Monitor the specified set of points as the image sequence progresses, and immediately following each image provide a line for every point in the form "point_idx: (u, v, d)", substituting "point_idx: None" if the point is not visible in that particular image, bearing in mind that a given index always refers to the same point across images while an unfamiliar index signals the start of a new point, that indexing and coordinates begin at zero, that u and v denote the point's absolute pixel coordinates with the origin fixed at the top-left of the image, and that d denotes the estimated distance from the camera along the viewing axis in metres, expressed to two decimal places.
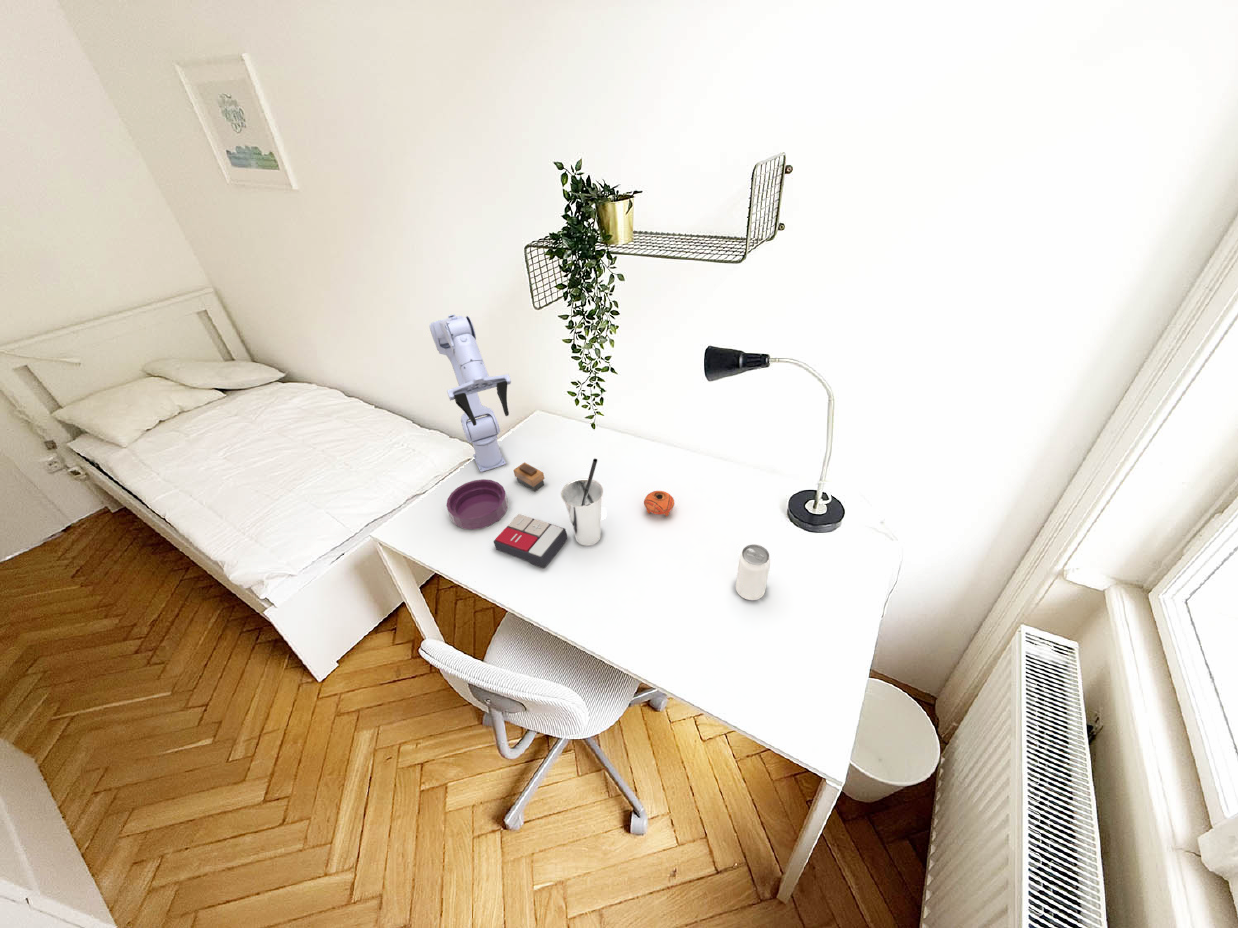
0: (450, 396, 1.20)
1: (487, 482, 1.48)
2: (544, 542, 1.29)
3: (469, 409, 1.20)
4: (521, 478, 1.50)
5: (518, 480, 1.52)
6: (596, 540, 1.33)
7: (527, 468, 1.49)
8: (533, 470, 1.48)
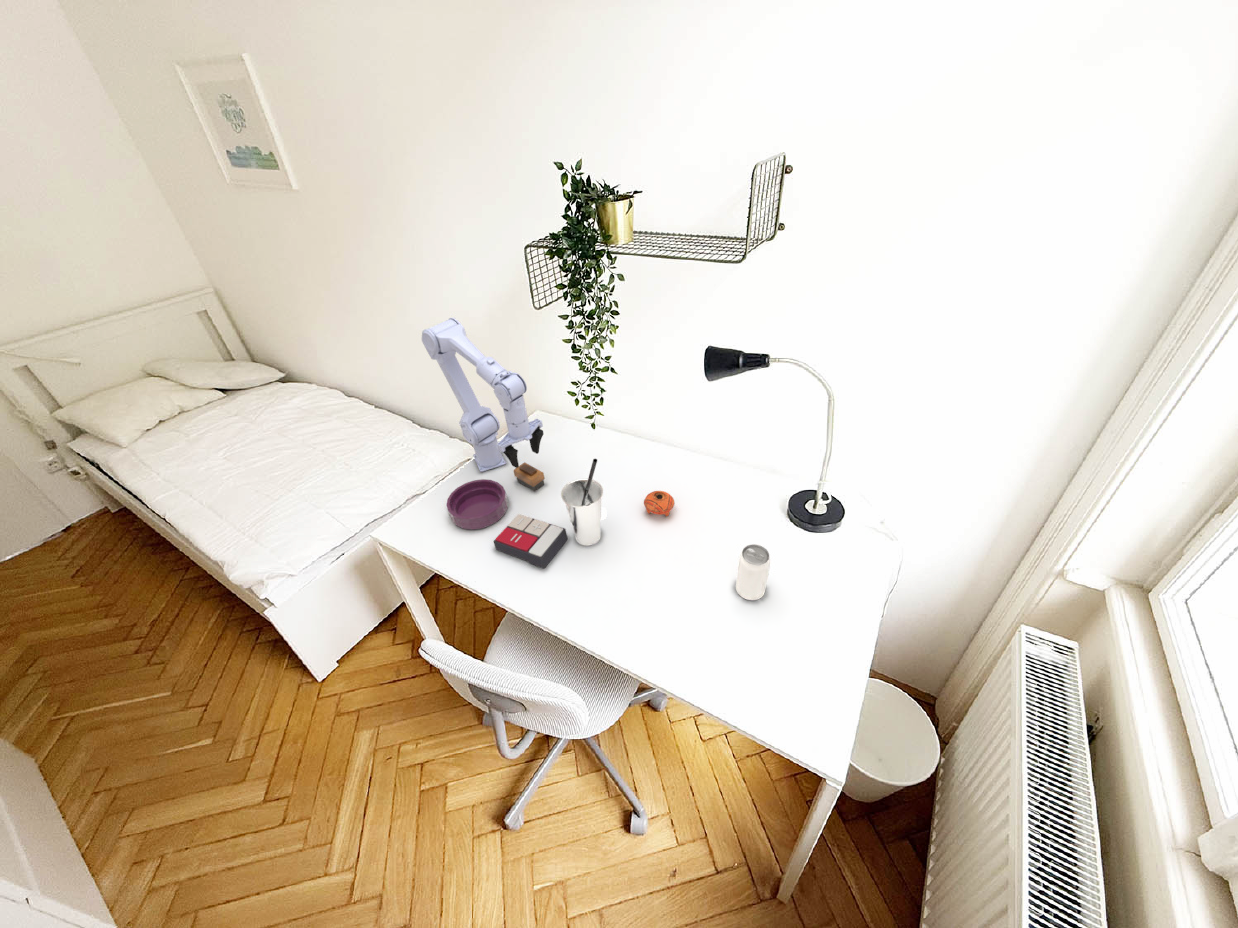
0: (503, 451, 1.38)
1: (487, 482, 1.48)
2: (544, 542, 1.29)
3: (516, 459, 1.42)
4: (521, 478, 1.50)
5: (518, 480, 1.52)
6: (596, 540, 1.33)
7: (527, 468, 1.49)
8: (533, 470, 1.48)
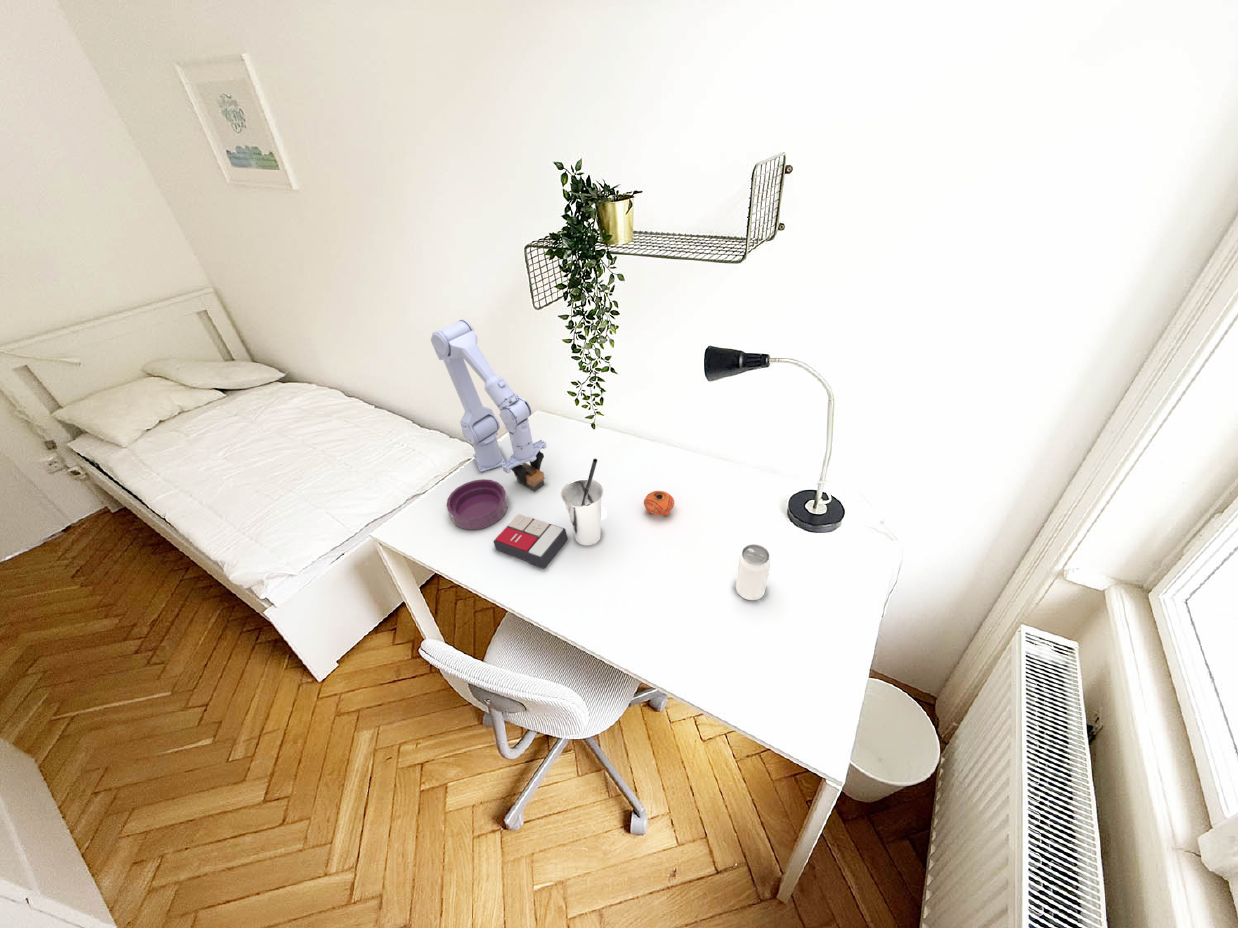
0: (508, 472, 1.42)
1: (487, 482, 1.48)
2: (544, 542, 1.29)
3: (524, 477, 1.47)
4: None
5: (518, 480, 1.53)
6: (596, 540, 1.33)
7: (527, 468, 1.49)
8: (533, 470, 1.48)
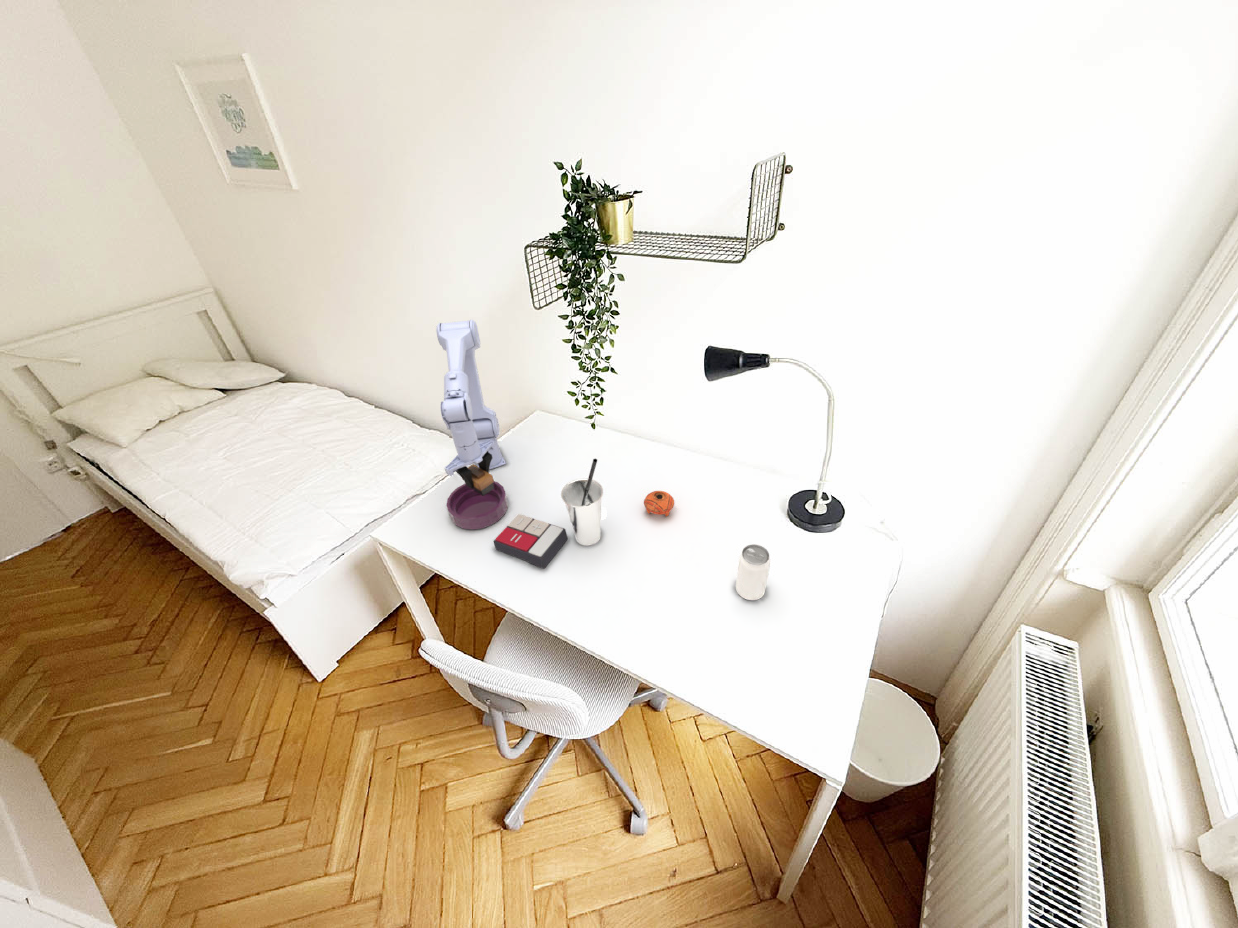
0: (451, 475, 1.31)
1: None
2: (544, 542, 1.29)
3: (471, 480, 1.36)
4: None
5: None
6: (596, 540, 1.33)
7: (474, 471, 1.37)
8: (481, 472, 1.37)
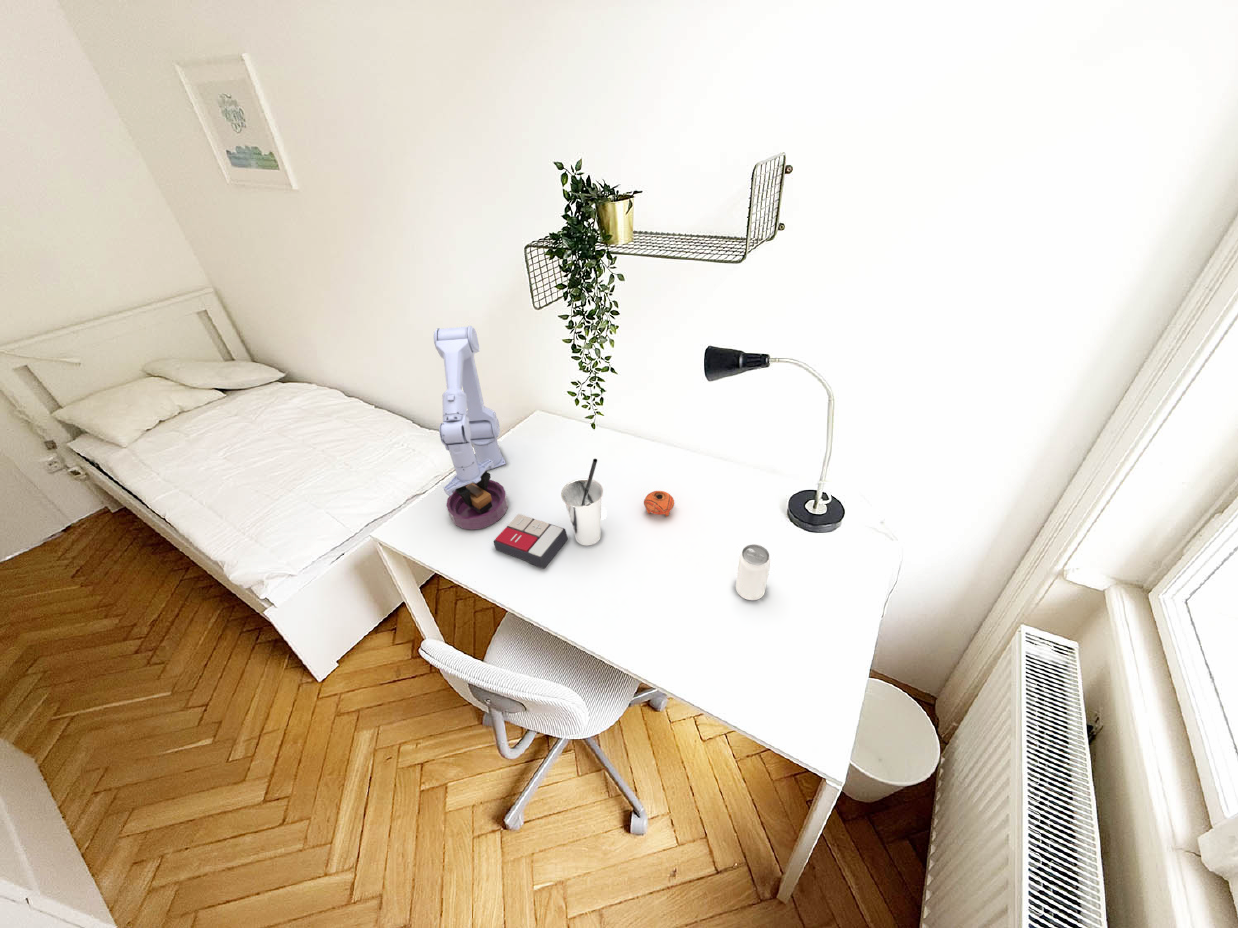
0: (450, 494, 1.33)
1: None
2: (544, 542, 1.29)
3: (469, 499, 1.38)
4: None
5: None
6: (596, 540, 1.33)
7: (473, 490, 1.40)
8: (479, 491, 1.39)
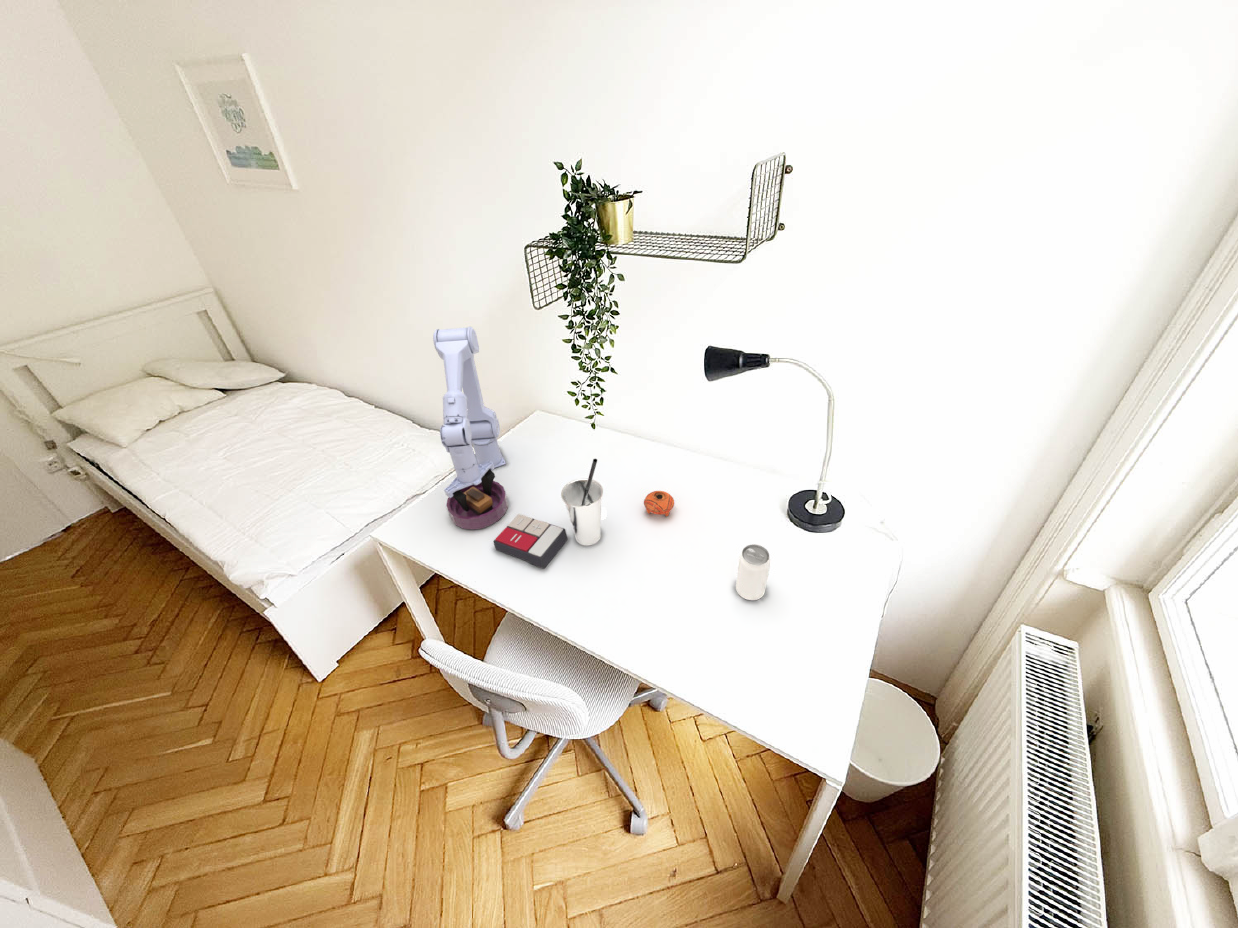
0: (451, 496, 1.34)
1: None
2: (544, 542, 1.29)
3: (466, 503, 1.38)
4: (468, 504, 1.42)
5: None
6: (596, 540, 1.33)
7: (474, 494, 1.41)
8: (480, 495, 1.40)
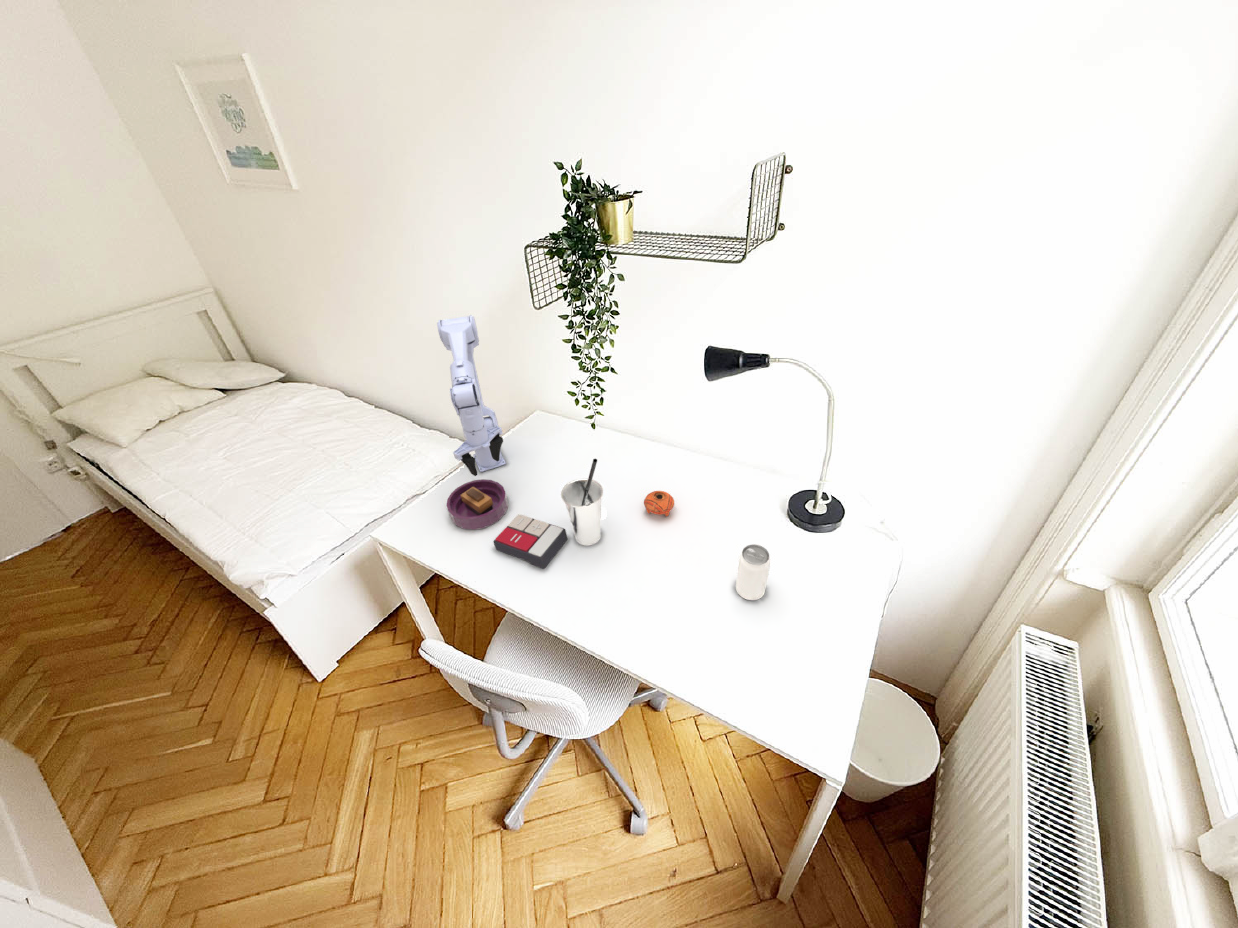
0: (459, 459, 1.35)
1: (487, 482, 1.48)
2: (544, 542, 1.29)
3: (474, 467, 1.39)
4: (468, 504, 1.42)
5: (466, 505, 1.44)
6: (596, 540, 1.33)
7: (474, 494, 1.41)
8: (480, 495, 1.40)
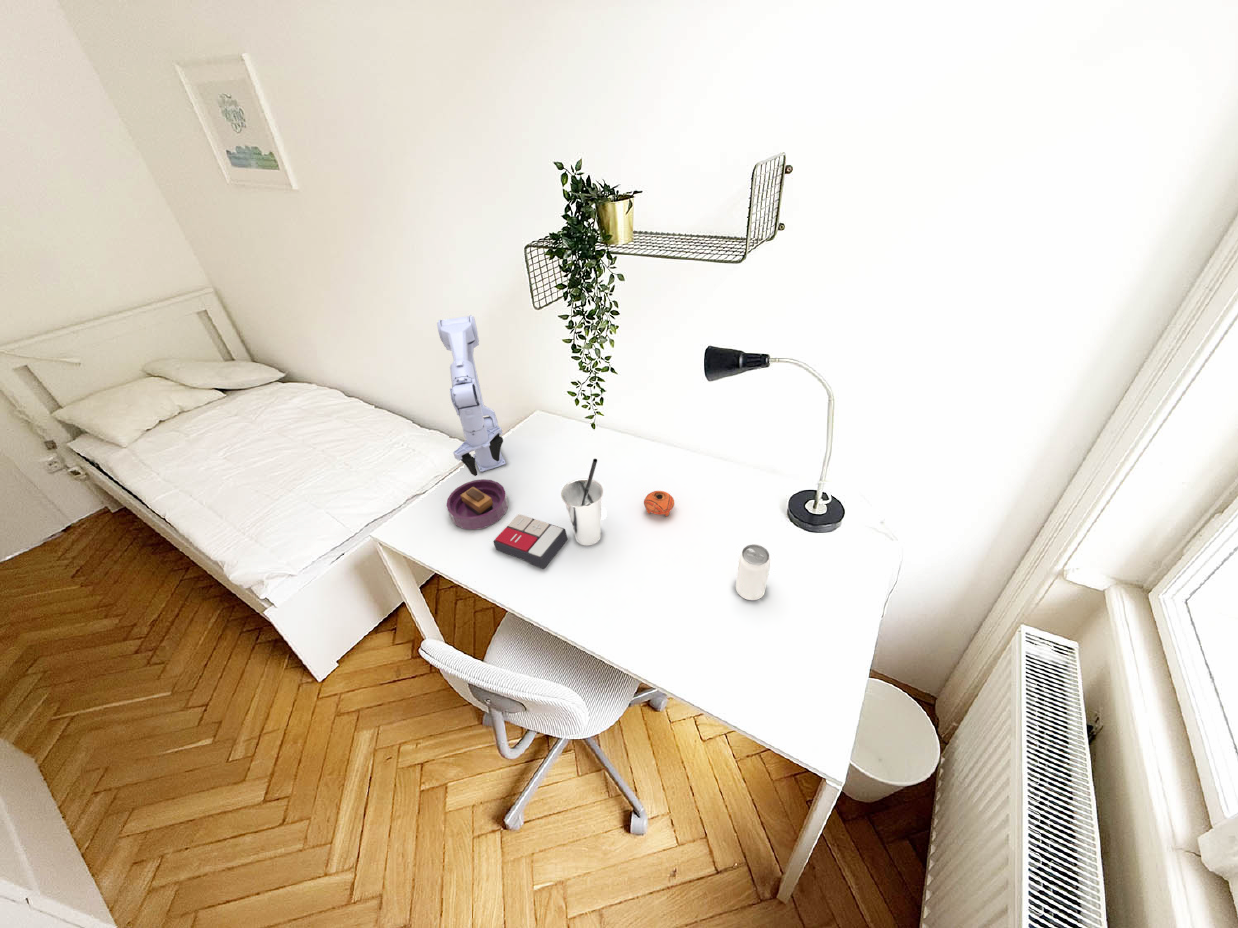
0: (459, 459, 1.35)
1: (487, 482, 1.48)
2: (544, 542, 1.29)
3: (474, 467, 1.39)
4: (468, 504, 1.42)
5: (466, 505, 1.44)
6: (596, 540, 1.33)
7: (474, 494, 1.41)
8: (480, 495, 1.40)
